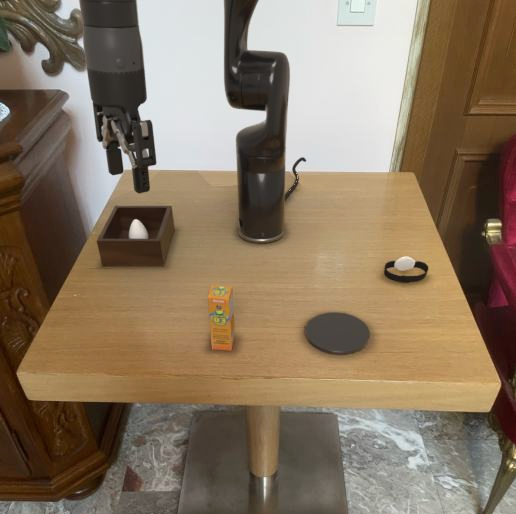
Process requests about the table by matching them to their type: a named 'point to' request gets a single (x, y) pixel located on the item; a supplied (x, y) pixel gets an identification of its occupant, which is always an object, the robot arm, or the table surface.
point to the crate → (136, 250)
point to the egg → (137, 230)
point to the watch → (404, 265)
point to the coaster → (337, 333)
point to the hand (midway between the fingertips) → (128, 182)
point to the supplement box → (221, 317)
